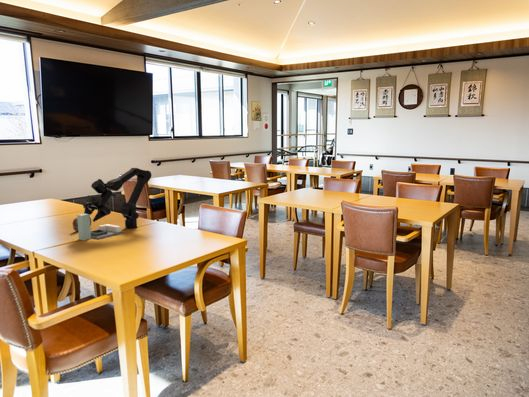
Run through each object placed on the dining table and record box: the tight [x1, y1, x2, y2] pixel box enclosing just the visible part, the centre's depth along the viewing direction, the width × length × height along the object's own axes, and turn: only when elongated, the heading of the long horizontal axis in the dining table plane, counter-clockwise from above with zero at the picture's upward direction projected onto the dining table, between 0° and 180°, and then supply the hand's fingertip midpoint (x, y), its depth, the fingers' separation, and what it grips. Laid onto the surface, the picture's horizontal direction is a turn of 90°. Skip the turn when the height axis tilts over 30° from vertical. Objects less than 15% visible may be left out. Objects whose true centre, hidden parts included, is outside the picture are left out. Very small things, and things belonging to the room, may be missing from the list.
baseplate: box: [91, 223, 125, 240], centre depth 235 cm, size 18×14×4 cm
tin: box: [72, 217, 92, 232], centre depth 245 cm, size 15×3×8 cm, turn 168°
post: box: [76, 213, 92, 241], centre depth 224 cm, size 4×4×14 cm
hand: (88, 220), depth 226 cm, fingers open, 9 cm apart
